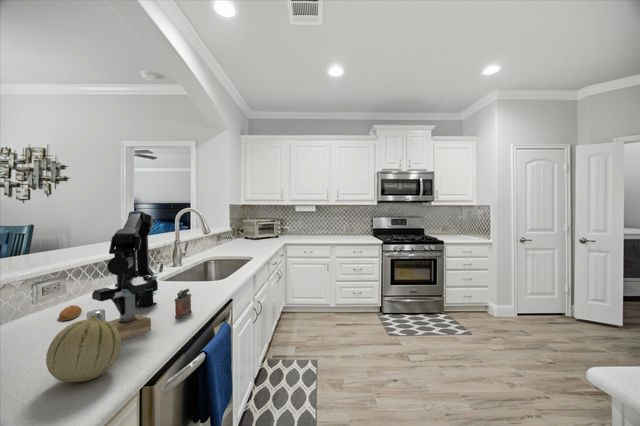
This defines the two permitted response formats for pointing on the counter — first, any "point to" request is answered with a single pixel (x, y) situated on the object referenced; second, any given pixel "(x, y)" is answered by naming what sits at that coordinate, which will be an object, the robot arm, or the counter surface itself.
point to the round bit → (96, 314)
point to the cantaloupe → (83, 350)
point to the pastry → (70, 312)
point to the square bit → (128, 308)
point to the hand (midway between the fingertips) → (127, 313)
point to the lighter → (182, 304)
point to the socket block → (132, 326)
